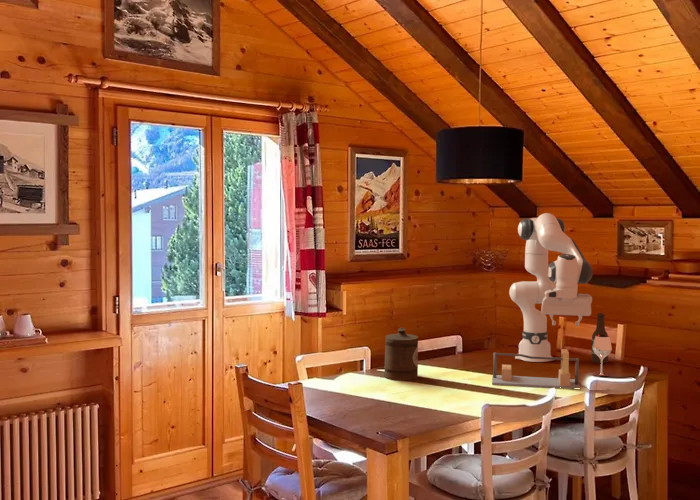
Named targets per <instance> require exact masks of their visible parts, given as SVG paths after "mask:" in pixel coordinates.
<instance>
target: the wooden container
mask: <svg viewBox="0 0 700 500" xmlns="http://www.w3.org/2000/svg"><path fill="white" fill-rule="evenodd" d="M384 340H385V342H384V344H385V345H384V347H385V348H384V378H386V379H389V380H393V381H411V380H415V379H417V378H418V374H419V373H418V371H419V370H418V369H419V336H418V335H417V334H416V335H415V334H410V333H406V328H404V327H400V328H398V329H397V333H391V334H386V335H385V339H384Z"/></svg>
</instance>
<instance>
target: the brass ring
mask: <svg viewBox="0 0 700 500" xmlns="http://www.w3.org/2000/svg"><path fill="white" fill-rule="evenodd" d="M560 350H561V351H560V352H561V354H560V355H561V356H560V358H563V360H560V369H561V371H562V374H568V370H569V364H570V362H569V361H570V360H569V358H570V352H569V350H568V348H561V349H560Z"/></svg>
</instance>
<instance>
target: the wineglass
mask: <svg viewBox="0 0 700 500" xmlns="http://www.w3.org/2000/svg"><path fill="white" fill-rule="evenodd" d="M592 349H593V351H594V353H595V354H596V355H597V356H598V357H599V358H600V360H601V364H600V374H599V375H604V374H605V373H603V359H604V358H605V357H606V356H608V357H609V355H610V354H611V352H612V349H613V348H612V342H611V338H610V336H609V335H608V336H607V335H596V336H595V339H594V343H593V347H592V346H591V350H592Z"/></svg>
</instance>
